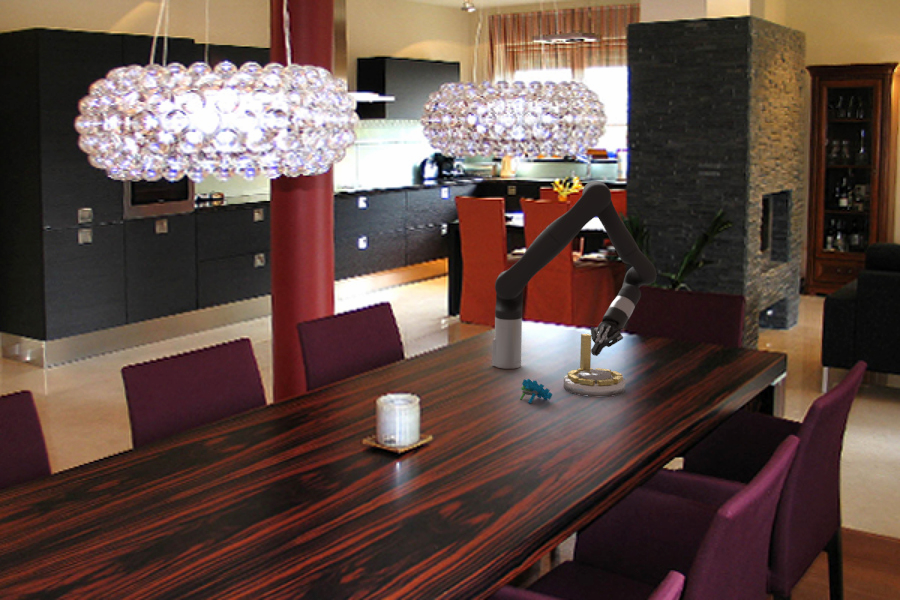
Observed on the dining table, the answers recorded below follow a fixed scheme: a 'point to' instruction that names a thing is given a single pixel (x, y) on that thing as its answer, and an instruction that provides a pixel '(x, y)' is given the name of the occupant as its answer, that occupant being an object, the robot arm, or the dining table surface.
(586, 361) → the peg on ring base
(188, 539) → the dining table surface
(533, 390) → the blue lobed toy
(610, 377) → the grey round piece
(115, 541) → the dining table surface
